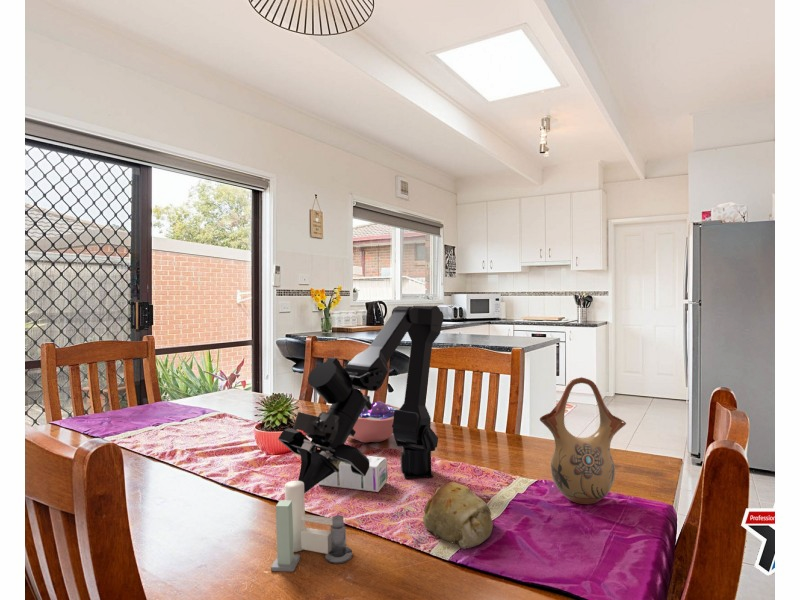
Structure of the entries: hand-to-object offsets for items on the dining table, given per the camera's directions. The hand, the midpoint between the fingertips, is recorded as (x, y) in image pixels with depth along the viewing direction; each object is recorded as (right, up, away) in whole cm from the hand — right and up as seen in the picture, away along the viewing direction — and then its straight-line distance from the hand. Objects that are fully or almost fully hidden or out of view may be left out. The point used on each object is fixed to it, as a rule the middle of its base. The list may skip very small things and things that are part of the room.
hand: (297, 495), depth 84 cm
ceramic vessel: (+55, -7, +14) cm, 57 cm away
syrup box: (0, -4, +26) cm, 27 cm away
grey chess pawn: (+8, -8, -4) cm, 12 cm away
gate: (+4, -8, -3) cm, 9 cm away
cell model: (+9, -6, +54) cm, 56 cm away
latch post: (-1, -9, -6) cm, 11 cm away
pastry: (+28, -8, +4) cm, 29 cm away
